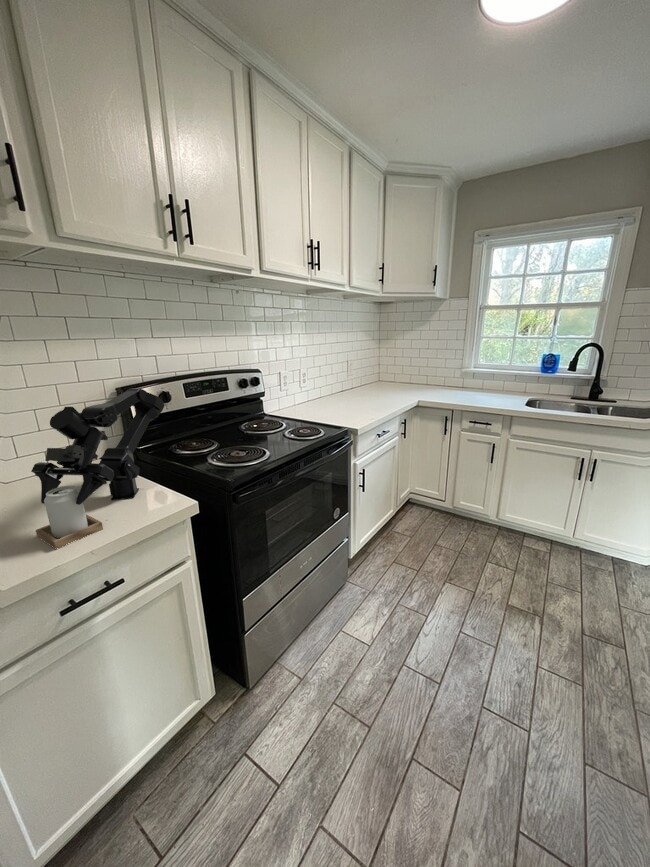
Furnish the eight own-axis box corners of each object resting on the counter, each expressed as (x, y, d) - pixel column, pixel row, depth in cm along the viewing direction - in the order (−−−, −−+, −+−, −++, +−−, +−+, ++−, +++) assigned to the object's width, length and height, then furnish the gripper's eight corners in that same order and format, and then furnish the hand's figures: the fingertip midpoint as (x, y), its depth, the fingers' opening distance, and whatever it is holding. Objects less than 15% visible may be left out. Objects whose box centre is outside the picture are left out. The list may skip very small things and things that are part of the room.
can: (72, 523, 95) (63, 482, 91) (95, 526, 93) (86, 485, 90) (45, 538, 88) (34, 495, 84) (69, 542, 86) (59, 497, 83)
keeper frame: (83, 518, 97) (81, 512, 97) (103, 529, 92) (101, 522, 91) (37, 536, 88) (35, 529, 88) (56, 549, 83) (54, 542, 82)
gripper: (28, 432, 88) (-3, 491, 81) (98, 433, 87) (73, 493, 79) (60, 452, 98) (35, 506, 90) (123, 453, 96) (103, 508, 89)
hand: (60, 503), depth 87 cm, fingers open, 9 cm apart
